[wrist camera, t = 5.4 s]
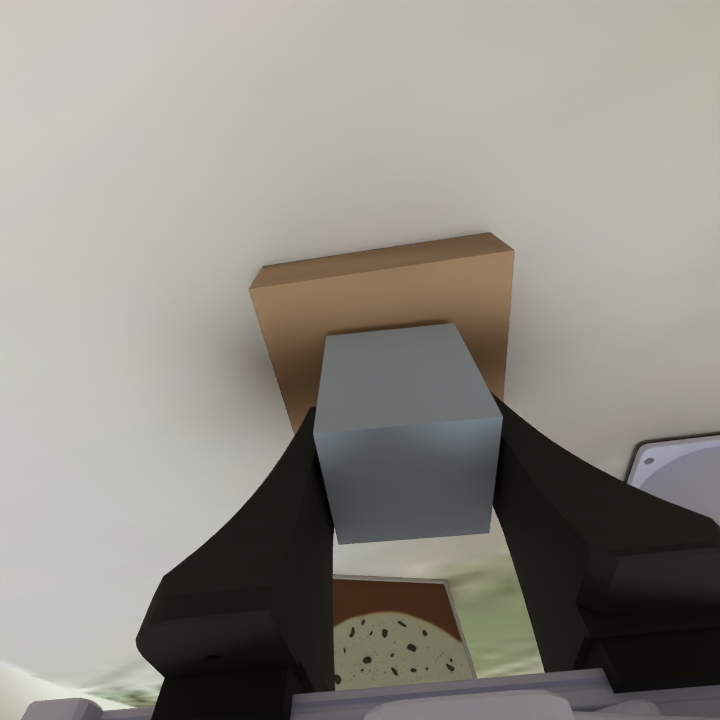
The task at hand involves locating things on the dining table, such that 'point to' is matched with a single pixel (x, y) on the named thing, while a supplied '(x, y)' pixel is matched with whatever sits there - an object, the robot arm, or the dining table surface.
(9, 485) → the dining table surface
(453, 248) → the base
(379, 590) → the food container
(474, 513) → the block
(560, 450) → the robot arm
